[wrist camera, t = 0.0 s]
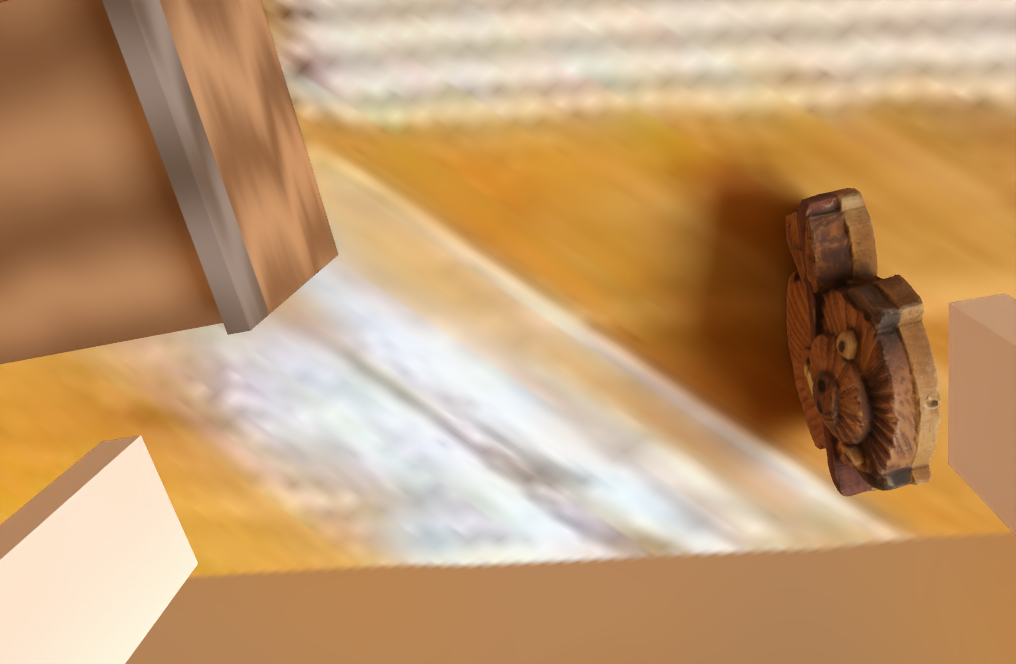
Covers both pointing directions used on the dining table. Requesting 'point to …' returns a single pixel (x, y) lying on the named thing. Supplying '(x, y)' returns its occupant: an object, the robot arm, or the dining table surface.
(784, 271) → the dining table surface
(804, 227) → the wooden carving
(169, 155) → the stepped stand
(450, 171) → the dining table surface
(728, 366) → the dining table surface
